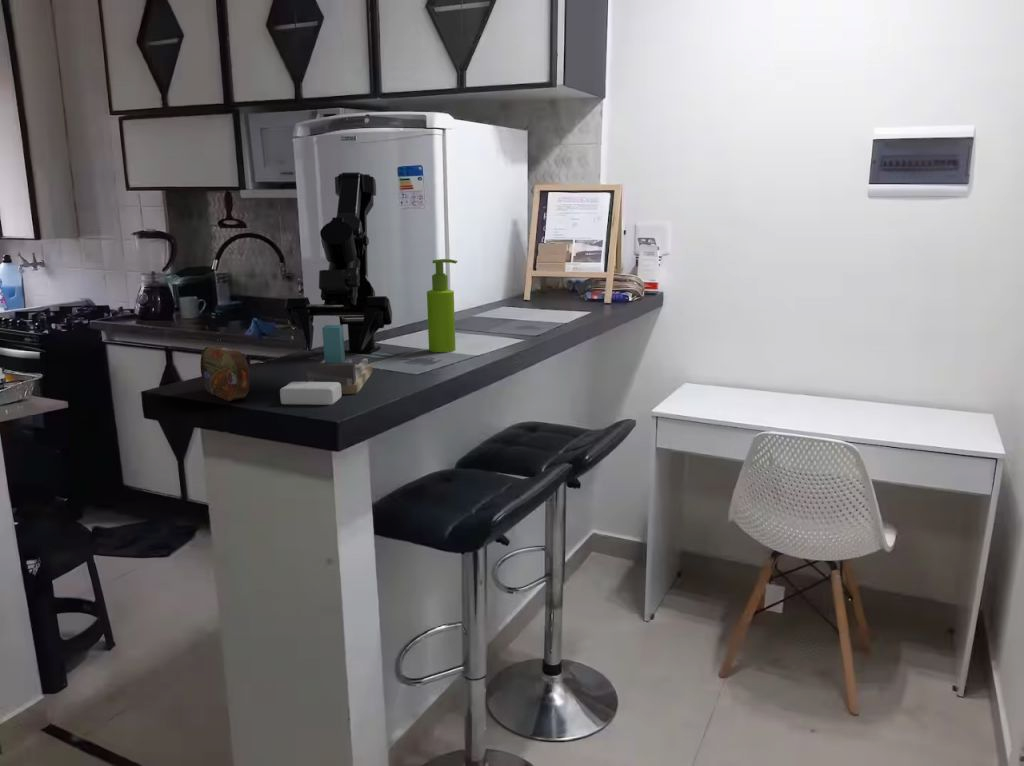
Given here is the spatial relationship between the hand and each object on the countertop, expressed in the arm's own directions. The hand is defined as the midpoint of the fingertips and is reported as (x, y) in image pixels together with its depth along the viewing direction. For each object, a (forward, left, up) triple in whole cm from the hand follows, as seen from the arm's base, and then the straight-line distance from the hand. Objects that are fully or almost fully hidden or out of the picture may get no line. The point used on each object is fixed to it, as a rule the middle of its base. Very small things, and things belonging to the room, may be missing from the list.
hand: (334, 349), depth 135 cm
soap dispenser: (-36, +8, -7) cm, 38 cm away
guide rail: (-3, -1, -7) cm, 7 cm away
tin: (+10, -16, -7) cm, 20 cm away
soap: (+10, 0, -7) cm, 12 cm away
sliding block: (+1, 0, -5) cm, 5 cm away
